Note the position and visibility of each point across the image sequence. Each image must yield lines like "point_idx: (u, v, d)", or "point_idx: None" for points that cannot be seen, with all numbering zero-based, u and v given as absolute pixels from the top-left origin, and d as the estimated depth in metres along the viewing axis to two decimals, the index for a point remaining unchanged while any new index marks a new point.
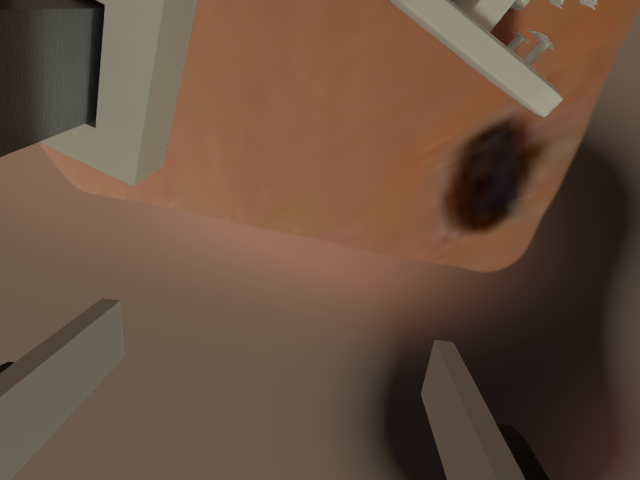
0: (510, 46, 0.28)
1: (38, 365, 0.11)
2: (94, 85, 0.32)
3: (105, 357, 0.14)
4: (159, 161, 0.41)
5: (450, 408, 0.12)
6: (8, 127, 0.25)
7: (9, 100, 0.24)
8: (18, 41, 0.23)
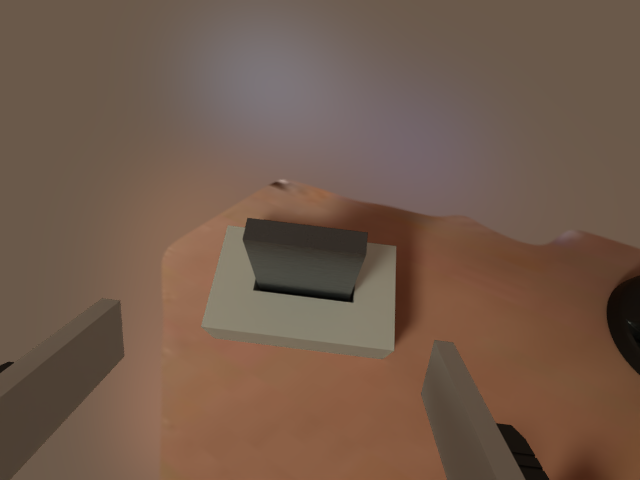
0: None
1: (38, 365, 0.11)
2: (290, 291, 0.39)
3: (105, 357, 0.14)
4: (220, 337, 0.41)
5: (450, 408, 0.12)
6: (272, 256, 0.31)
7: (294, 259, 0.31)
8: (337, 269, 0.32)
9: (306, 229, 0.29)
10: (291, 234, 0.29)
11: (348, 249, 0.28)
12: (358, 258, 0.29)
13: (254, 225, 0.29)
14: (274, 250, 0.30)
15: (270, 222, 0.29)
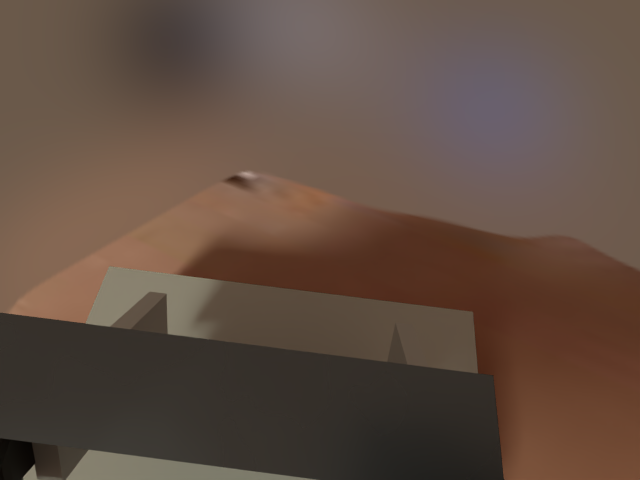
0: None
1: None
2: None
3: None
4: None
5: None
6: None
7: None
8: None
9: (226, 365, 0.07)
10: (153, 393, 0.06)
11: (418, 472, 0.06)
12: None
13: None
14: None
15: (71, 330, 0.07)
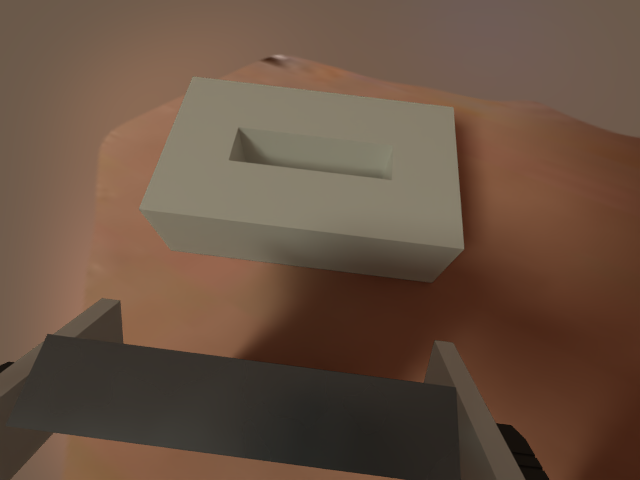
0: None
1: None
2: None
3: None
4: (179, 245, 0.26)
5: None
6: None
7: None
8: None
9: (246, 378, 0.08)
10: (190, 400, 0.08)
11: (395, 462, 0.08)
12: None
13: (64, 365, 0.08)
14: None
15: (123, 350, 0.09)
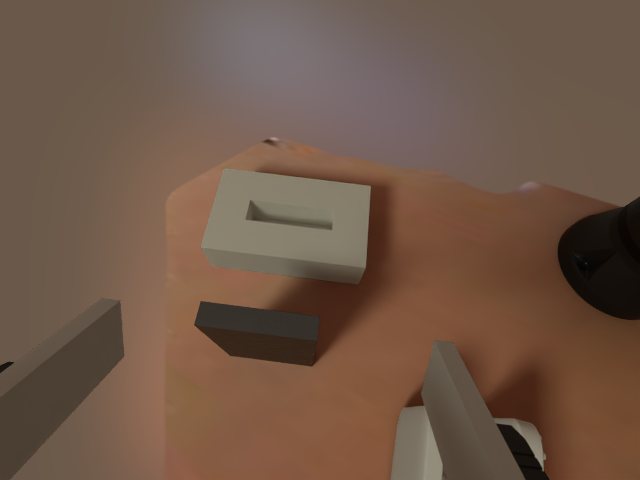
0: None
1: (38, 365, 0.11)
2: (255, 353, 0.39)
3: (105, 357, 0.14)
4: (217, 264, 0.47)
5: (450, 408, 0.12)
6: (227, 335, 0.31)
7: (249, 338, 0.31)
8: (293, 346, 0.32)
9: (259, 313, 0.29)
10: (243, 319, 0.29)
11: (299, 335, 0.29)
12: (310, 342, 0.29)
13: (207, 309, 0.29)
14: (228, 332, 0.30)
15: (223, 306, 0.29)
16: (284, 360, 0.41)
